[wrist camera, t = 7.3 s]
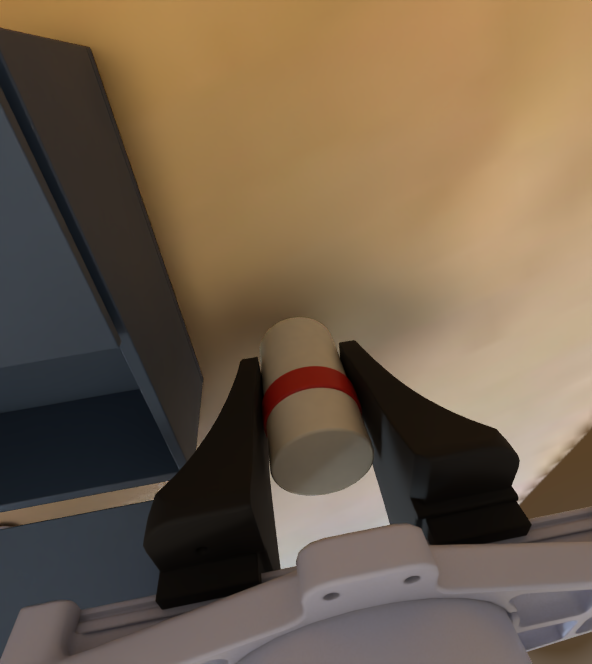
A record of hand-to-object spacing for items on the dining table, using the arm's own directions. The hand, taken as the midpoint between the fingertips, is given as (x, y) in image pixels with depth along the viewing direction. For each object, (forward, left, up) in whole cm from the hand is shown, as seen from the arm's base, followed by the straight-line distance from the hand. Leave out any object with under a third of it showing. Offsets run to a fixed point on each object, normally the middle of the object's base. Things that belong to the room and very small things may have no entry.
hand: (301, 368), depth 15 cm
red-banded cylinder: (0, 0, -1) cm, 1 cm away
